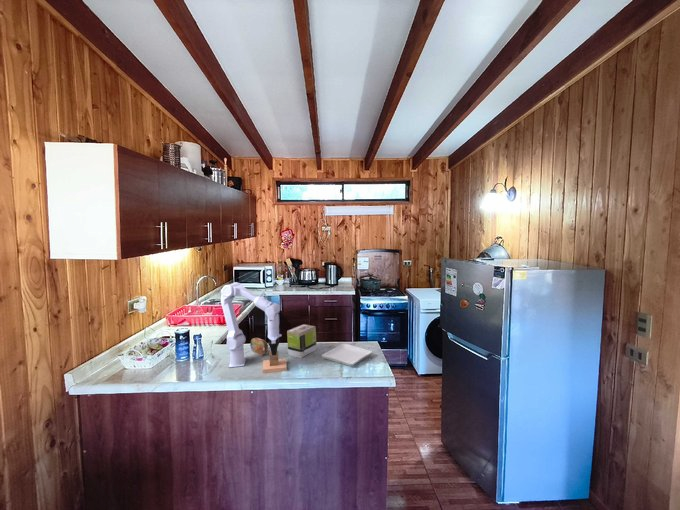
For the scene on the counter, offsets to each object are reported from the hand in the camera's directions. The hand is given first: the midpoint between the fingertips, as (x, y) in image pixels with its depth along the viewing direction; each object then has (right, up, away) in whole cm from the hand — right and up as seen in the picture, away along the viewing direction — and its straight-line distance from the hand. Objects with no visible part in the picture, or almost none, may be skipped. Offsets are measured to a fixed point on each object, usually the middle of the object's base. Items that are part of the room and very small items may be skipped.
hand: (274, 352), depth 170 cm
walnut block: (0, -6, 0) cm, 6 cm away
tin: (-13, -7, +21) cm, 26 cm away
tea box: (+13, -7, +20) cm, 25 cm away
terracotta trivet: (0, -9, +1) cm, 9 cm away
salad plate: (+39, -7, +11) cm, 41 cm away
